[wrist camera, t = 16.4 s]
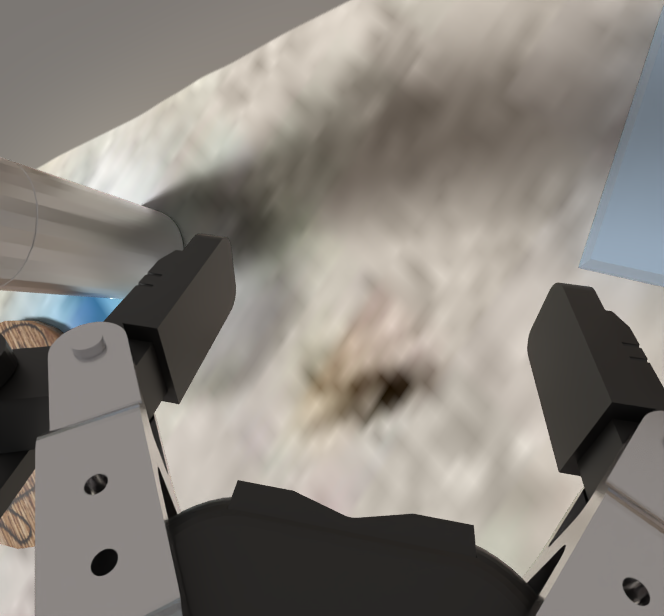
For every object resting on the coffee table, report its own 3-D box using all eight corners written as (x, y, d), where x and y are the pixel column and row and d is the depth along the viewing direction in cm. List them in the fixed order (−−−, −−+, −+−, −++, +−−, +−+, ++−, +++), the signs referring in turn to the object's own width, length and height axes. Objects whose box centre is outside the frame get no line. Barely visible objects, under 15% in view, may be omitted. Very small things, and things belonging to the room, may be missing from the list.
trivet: (145, 465, 43) (130, 471, 41) (11, 579, 49) (-7, 589, 47) (46, 276, 49) (29, 274, 47) (-61, 399, 55) (-80, 402, 54)
